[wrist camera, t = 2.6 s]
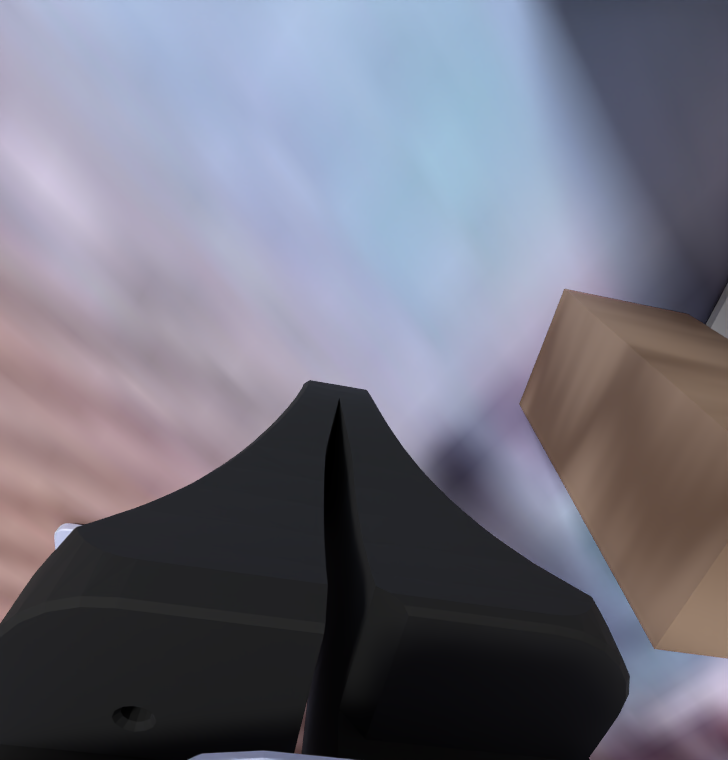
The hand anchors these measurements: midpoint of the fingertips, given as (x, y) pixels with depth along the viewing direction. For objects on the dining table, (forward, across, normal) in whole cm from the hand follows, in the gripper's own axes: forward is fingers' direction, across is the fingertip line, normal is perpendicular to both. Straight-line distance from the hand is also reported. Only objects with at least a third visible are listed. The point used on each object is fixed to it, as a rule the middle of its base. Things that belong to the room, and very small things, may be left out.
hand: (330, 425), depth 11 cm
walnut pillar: (+7, -9, 0) cm, 12 cm away
